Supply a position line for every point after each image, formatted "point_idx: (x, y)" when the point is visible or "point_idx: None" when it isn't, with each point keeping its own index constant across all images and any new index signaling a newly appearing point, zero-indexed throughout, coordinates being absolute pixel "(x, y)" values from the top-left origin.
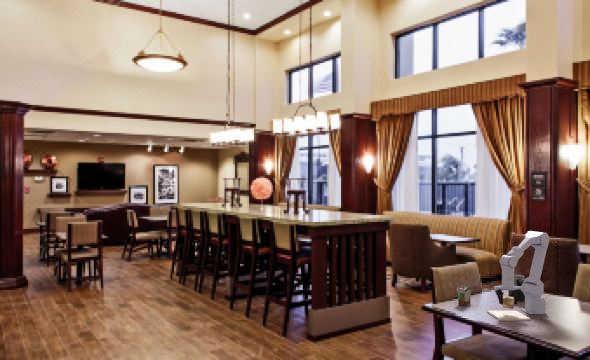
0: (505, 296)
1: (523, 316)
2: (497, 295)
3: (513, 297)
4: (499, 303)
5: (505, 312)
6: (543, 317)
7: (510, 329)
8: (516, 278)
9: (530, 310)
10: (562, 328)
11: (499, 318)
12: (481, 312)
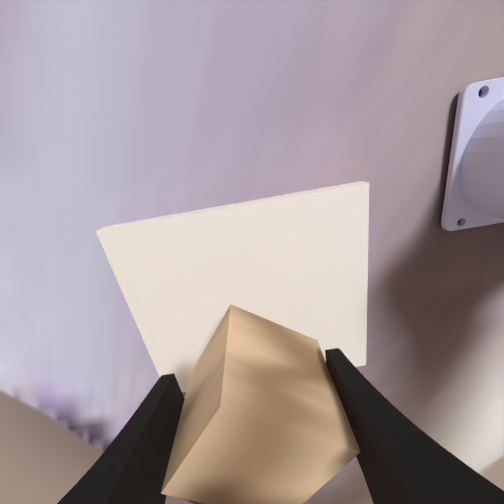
0: (232, 434)
1: (342, 333)
2: (81, 495)
3: (338, 461)
4: (159, 379)
5: (246, 259)
6: (493, 282)
7: None
8: None
9: (490, 210)
10: (445, 432)
11: None
12: (58, 231)
